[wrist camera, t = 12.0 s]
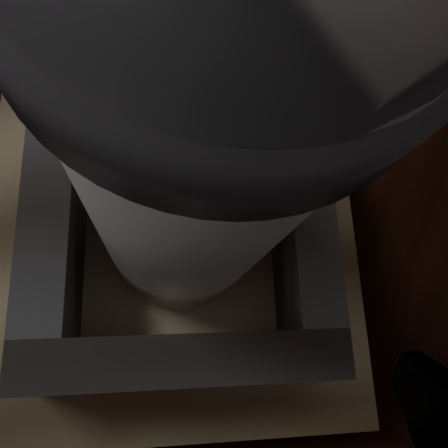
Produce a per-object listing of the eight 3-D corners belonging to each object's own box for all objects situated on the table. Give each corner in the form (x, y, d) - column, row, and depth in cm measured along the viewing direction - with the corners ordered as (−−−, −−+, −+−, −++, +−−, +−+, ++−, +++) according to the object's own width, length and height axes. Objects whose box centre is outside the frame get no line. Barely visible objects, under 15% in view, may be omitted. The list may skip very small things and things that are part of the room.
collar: (360, 423, 17) (429, 448, 12) (-24, 450, 15) (-99, 492, 10) (323, 108, 21) (366, 44, 16) (16, 94, 19) (-27, 17, 14)
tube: (253, 313, 16) (583, 183, 4) (103, 317, 15) (-149, 166, 3) (246, 177, 17) (459, -246, 5) (109, 174, 17) (-37, -338, 4)
